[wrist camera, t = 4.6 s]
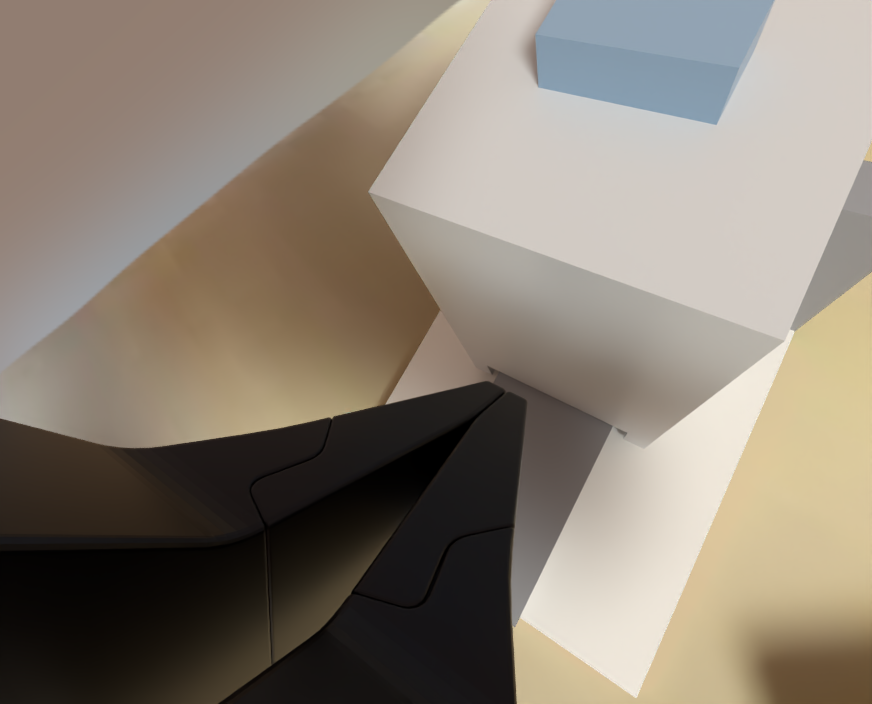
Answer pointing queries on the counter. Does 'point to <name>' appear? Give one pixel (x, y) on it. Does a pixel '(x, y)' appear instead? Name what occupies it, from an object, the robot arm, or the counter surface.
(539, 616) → the board
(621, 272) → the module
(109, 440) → the counter surface
